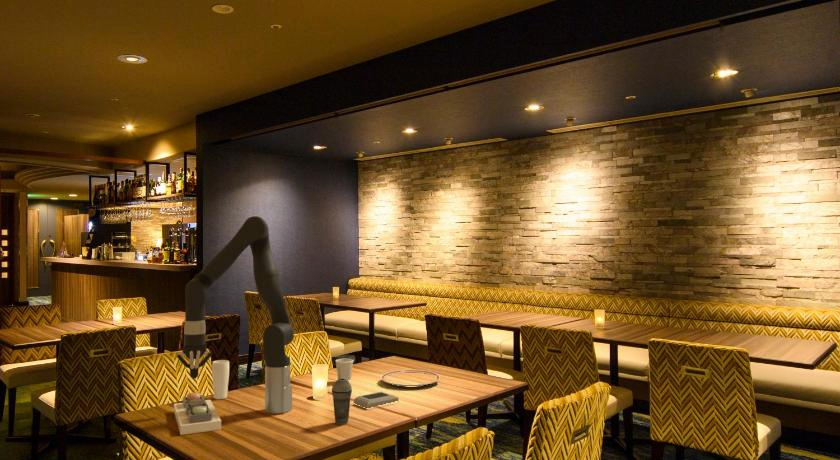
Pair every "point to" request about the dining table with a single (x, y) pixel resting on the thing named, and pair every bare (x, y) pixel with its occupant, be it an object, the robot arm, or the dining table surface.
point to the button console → (196, 418)
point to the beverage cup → (341, 399)
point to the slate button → (196, 402)
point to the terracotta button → (193, 396)
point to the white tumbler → (220, 378)
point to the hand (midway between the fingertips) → (193, 378)
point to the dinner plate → (410, 372)
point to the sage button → (199, 410)
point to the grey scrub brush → (374, 399)
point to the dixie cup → (344, 368)
